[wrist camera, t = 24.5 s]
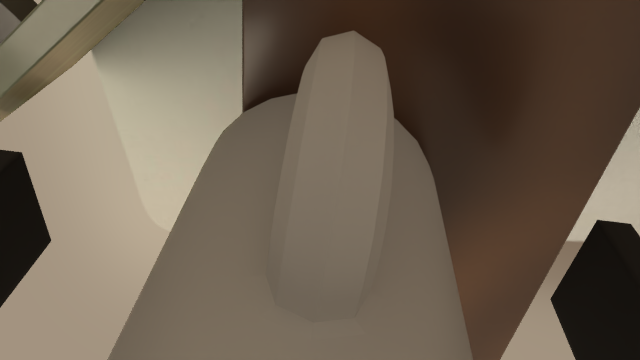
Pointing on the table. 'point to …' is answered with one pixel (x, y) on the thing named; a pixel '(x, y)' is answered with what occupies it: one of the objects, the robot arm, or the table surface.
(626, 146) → the table surface
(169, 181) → the table surface
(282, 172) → the cup
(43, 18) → the cupboard door
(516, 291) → the cupboard
